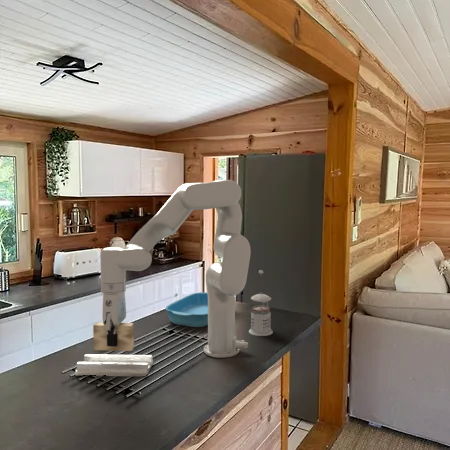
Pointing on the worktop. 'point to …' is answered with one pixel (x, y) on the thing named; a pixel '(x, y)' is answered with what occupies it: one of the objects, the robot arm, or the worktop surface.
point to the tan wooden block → (124, 337)
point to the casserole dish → (189, 310)
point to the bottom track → (114, 365)
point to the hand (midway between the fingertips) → (114, 343)
